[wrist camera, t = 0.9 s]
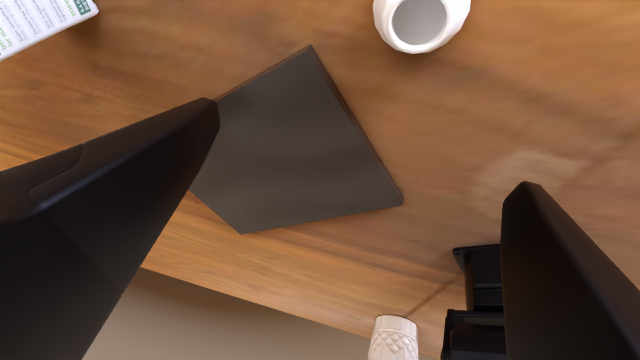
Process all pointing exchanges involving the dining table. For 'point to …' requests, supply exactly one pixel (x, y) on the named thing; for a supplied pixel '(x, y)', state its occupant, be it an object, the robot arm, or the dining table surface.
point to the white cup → (393, 339)
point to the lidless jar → (419, 22)
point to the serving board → (290, 152)
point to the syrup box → (38, 21)
